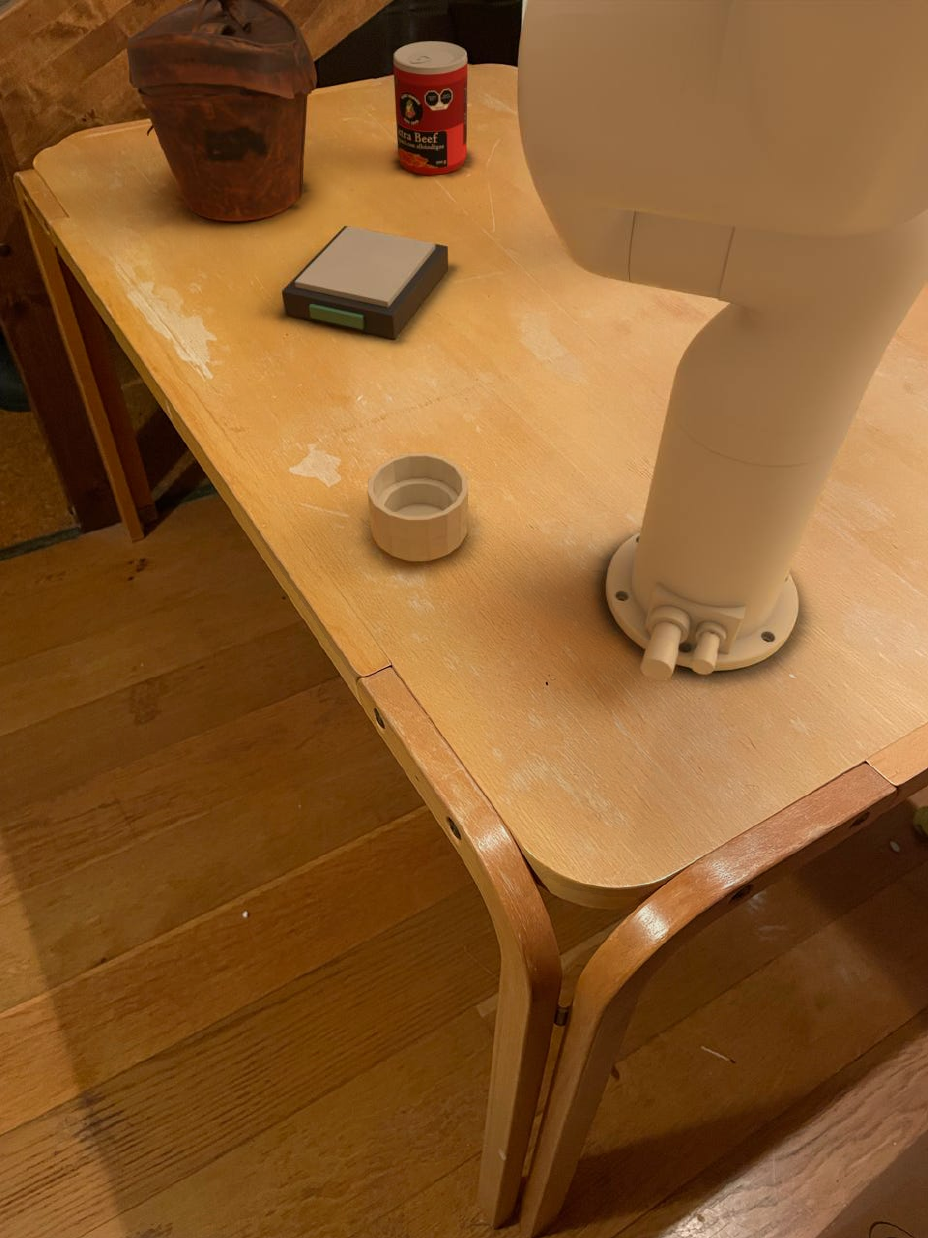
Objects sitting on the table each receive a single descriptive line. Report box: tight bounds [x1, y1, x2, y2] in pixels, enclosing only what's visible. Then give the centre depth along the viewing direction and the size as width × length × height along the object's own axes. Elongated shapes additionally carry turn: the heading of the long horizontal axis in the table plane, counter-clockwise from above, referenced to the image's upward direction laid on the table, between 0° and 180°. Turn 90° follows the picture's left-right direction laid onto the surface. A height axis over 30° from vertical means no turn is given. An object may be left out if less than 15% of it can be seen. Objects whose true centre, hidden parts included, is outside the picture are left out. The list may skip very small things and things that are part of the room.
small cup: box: [366, 452, 469, 562], centre depth 63 cm, size 7×7×4 cm
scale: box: [281, 225, 449, 340], centre depth 84 cm, size 14×11×3 cm
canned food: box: [392, 40, 468, 176], centre depth 98 cm, size 8×8×11 cm
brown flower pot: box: [125, 0, 318, 222], centre depth 90 cm, size 18×20×18 cm
